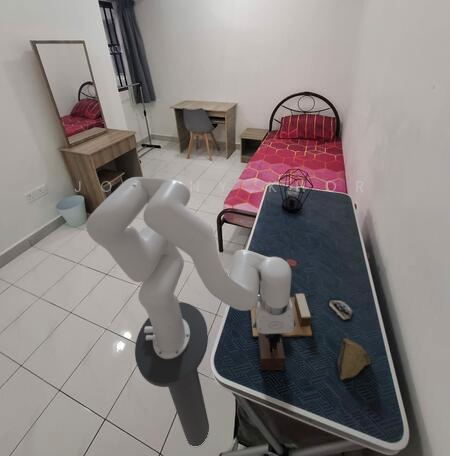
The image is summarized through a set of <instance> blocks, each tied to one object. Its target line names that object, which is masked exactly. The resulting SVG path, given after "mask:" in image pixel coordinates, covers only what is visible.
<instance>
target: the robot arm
mask: <svg viewBox="0 0 450 456" xmlns="http://www.w3.org/2000/svg"><path fill="white" fill-rule="evenodd" d="M190 199H191V191H190V189H189V188H188V186H187V185H186V184H185V183H183V182H181V181H179V180H176V179H172V178H165V177H150V176H149V177H147V176H134V177H133V176H132V177H129V178H127V179H126V180H124V181H123V182H122V183H121V184H120V185H119V186H118V187H117V188H116V189H115V190H114V191H113V192H112V193H111V194H110V195H108V196H107V197H106V198H105V199H104V200H103V201H102V202H101V203H100V204H99V205H98V206H97V207H96V209H94V210H93V211H92V212H91V214H90V215H89V216H88V219H87V221H86V225H85V226H86V232H87V234H88V235H89V237H90V238H91V240H92V241H94V242H95V243H96V244H97V245H99V246H101V247H102V248H104V249H105V250H106V251H107V252H108V253H109V254H110V256H111V257H112V259H113V260H114V261H115V262H116V264H117V265H118V266H119V268H120V269H121V270H122V271H123V272H124V274H125V275H126V276H127V277H128V278H129V279H130V280H132V281H133V282H135V283H141V286H140V288H139V290H138V301H139V303H140V304H141V306H142V307H143V308H144V310H145V311H146V313H147V316H148V318H149V319H150V321H151V324H152V327H151V326H145V329H144V333H153V334H154V335H147V336H146V340H153V347H154V350H155V352H156V354H157V355H158V356H159V357H161V358H163V359H173V358H175V357H177V356H179V355H180V354H181V353H182V352H183V351H184V350H185V349H186V347H187V345H188V343H189V340H190V329H189V326H188V324H187V322H186V321H185V320H184V319H182V314H181V310H180V305H179V299H178V297H177V295H176V294H175V292H176V288H177V286H178V282H179V280H180V277H181V275H182V274H183V273H182V272H183V270H184V265H185V260H184V258H183V255H182V254H181V252H180V251H182V252H183V253H185V254H186V255H188V256H189V257H190V258H191V260H192V262H193V265H194V268H195V270H196V272H197V275H198V276H199V278H200V280H201V281H202V283H203V285H204V286H205V288H206V289H207V291H208V292H209V293H210V294H211V295H212V296H214V298H216V299H218V300H219V301H220V302H221V303H224V304H225V305H227V306H228V307H230V308H232V309H234V310H237V311H241V312H247V311H248V312H249V311H251V309H252V308H254V306H255V305H256V317H255V319H254V320H253V322H252V321H251V328H252V327H253V328H257V331H258V332H259V333H262V334H265V337H266V338H268V343H270V342H271V334H278V343H280V338H281V339H282V338H283V337H282V334H284V333H290V332H292V331H293V329H294V326H296V324H295V320H294V312H293V306H292V302H291V300H290V297H291V285H292V269H291V266H290V264H289V263H288V262H287V261H286V260H285V259H283V258H282V257H279V256H266V255H263V254H260V253H257V252H254V251H252V250H249V249H238V250H236V251H235V252H234V254H233V256H232V260H231V265H230V271H229V274H228V273H227V271H226V270H225V268H224V266H223V265H222V262H221V259H220V256H219V254H218V253H219V252H218V246H217V241H216V236H215V232H214V229H213V227H212V226H211V225H210V224H209V223H208V222H206V221H205V220H203V219H202V218H201V217H200V216H198V215H196V214H195V213H194V212H193V211H192V210H190V209H189V208H187V206H188V203H189V202H190ZM145 206H146V207H145ZM143 209H144V211H143V222H144V223H145V225H146V226H144V227H142V229H140V231H139V230H138V229H137V228H136V227H135V226H133V225H131V224H132V223H133V222H134V220H136V218H137V217H138V216H139V214H140V213H141V212H142V210H143ZM179 249H180V250H179ZM256 303H257V304H256ZM187 336H188V337H187ZM160 353H161V354H160Z"/></svg>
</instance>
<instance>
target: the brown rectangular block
mask: <svg viewBox="0 0 450 456" xmlns="http://www.w3.org/2000/svg"><path fill="white" fill-rule="evenodd" d="M294 297H295V303H294V304H295V308H296V312H297V316H298V320H299V324H300V327H309V325H310V322H311V317H312V316H311V312H310V310H309V306H308V302H307V300H306V296H305V293H295V296H294Z"/></svg>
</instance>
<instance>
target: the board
mask: <svg viewBox="0 0 450 456" xmlns="http://www.w3.org/2000/svg"><path fill="white" fill-rule="evenodd" d="M290 300H291V302H292V306H293V312H294V320H295V324H296V326H294V329H293V331H292V332H290V333H284V334H282V338H283V337H284V338H285V337H286V338H287V337H288V338H289V337H312V336H313V332H312V329H311V325H310V324H309V327H300V324H299V320H298V316H297V312H296V308H295V304H294V303H295V296H290ZM256 304H257V303H256ZM255 317H256V305H255V306H254V308H252V309H251V310H250V319H251V323H252V322H253V320H254V319H255ZM251 329H252V331H251V332H252V338H258V333H259V332H258V331H257V328H253V327H252V326H251Z"/></svg>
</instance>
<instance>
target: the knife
mask: <svg viewBox="0 0 450 456" xmlns="http://www.w3.org/2000/svg"><path fill="white" fill-rule="evenodd" d="M277 343H278V334H271V342H270V343H269V346H270V353H271V352H274V349H277Z"/></svg>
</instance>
